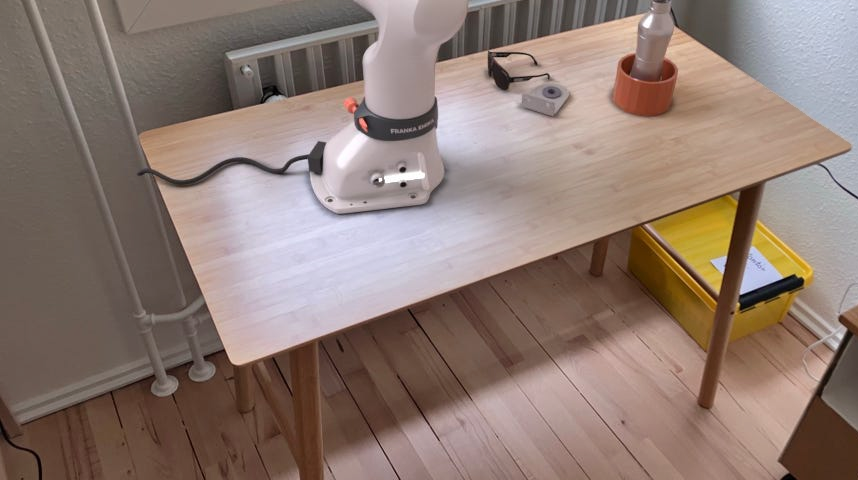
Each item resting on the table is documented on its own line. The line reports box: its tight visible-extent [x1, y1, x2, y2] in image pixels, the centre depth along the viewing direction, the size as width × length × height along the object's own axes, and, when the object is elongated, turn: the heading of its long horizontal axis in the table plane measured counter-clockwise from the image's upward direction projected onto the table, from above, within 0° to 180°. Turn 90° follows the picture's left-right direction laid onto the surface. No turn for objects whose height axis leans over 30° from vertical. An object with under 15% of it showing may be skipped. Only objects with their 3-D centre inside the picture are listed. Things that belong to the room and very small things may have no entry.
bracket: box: [521, 82, 570, 117], centre depth 159 cm, size 7×10×4 cm, turn 153°
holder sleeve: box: [612, 52, 679, 117], centre depth 159 cm, size 11×11×7 cm
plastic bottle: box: [629, 0, 675, 82], centre depth 154 cm, size 6×7×20 cm
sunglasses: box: [487, 50, 551, 91], centre depth 165 cm, size 10×12×5 cm
